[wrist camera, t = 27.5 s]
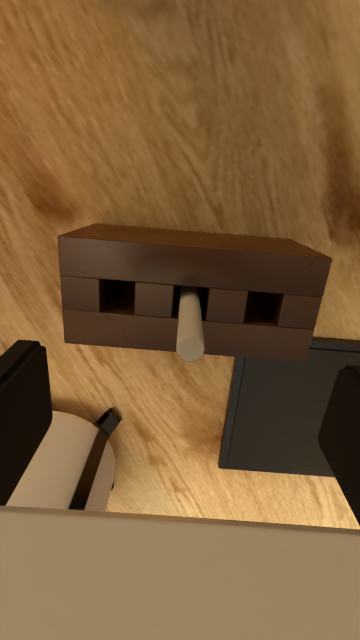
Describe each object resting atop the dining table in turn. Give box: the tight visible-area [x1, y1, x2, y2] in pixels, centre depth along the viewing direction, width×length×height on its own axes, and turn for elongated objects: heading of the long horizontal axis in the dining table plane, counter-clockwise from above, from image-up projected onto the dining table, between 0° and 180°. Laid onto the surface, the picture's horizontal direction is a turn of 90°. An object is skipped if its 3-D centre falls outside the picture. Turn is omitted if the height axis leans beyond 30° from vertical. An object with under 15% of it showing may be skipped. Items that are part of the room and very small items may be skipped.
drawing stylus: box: [176, 285, 205, 362], centre depth 21 cm, size 1×1×14 cm
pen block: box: [58, 223, 332, 362], centre depth 24 cm, size 7×16×8 cm, turn 86°
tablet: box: [218, 337, 360, 477], centre depth 32 cm, size 22×16×1 cm
